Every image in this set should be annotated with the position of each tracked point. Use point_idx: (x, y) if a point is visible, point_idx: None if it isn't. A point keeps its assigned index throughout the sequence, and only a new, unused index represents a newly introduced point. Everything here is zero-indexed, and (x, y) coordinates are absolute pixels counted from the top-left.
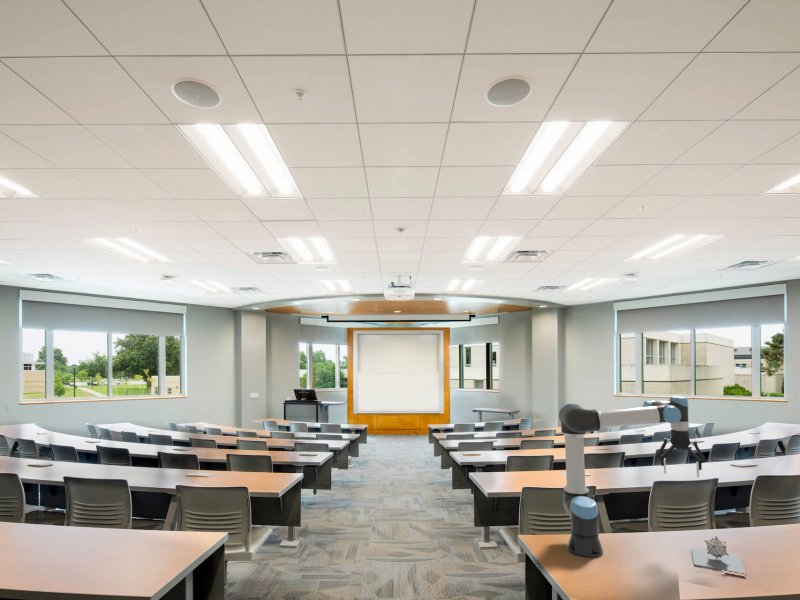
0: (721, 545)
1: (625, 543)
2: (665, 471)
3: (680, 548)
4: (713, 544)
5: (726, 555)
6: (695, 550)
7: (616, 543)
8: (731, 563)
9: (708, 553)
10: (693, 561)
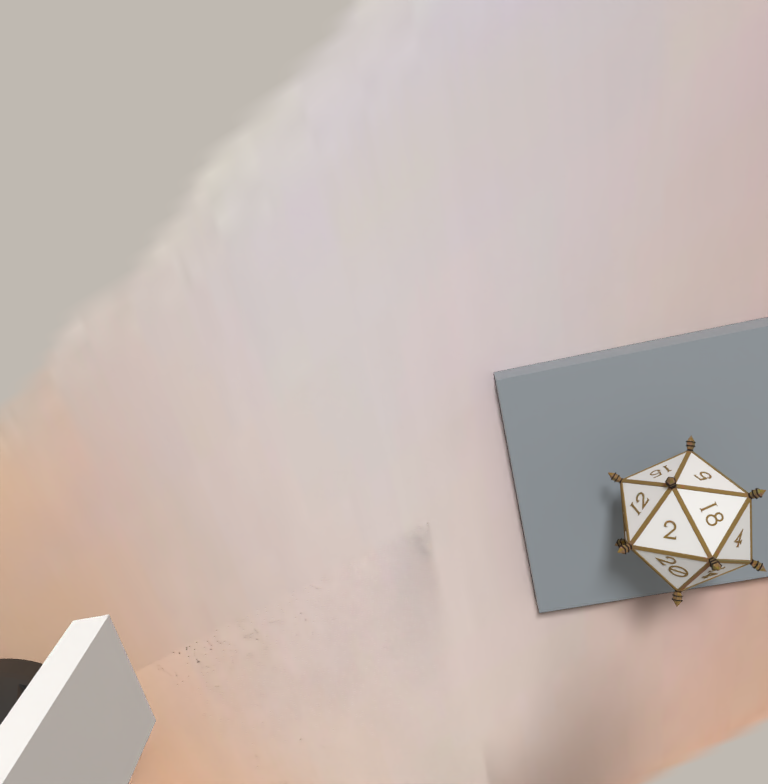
0: (731, 568)
1: (129, 515)
2: (129, 766)
3: (424, 381)
4: (679, 585)
5: (715, 376)
6: (525, 419)
7: (91, 547)
8: (738, 482)
9: (623, 543)
10: (528, 557)
